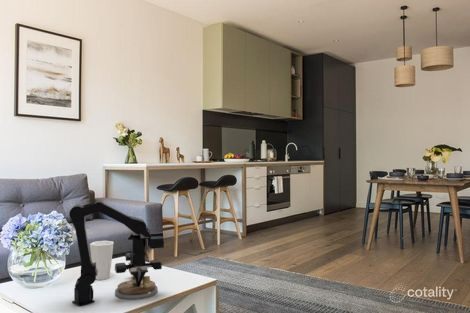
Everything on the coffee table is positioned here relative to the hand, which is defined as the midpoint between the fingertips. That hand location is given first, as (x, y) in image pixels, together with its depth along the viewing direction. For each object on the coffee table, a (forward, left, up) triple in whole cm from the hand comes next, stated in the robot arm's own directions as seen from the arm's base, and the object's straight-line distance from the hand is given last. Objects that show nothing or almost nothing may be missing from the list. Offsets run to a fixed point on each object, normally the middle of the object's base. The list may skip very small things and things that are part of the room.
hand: (138, 286), depth 170 cm
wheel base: (+3, +5, -5) cm, 8 cm away
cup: (+6, +36, -5) cm, 37 cm away
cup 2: (+16, +22, -5) cm, 28 cm away
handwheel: (+3, +5, -3) cm, 7 cm away
